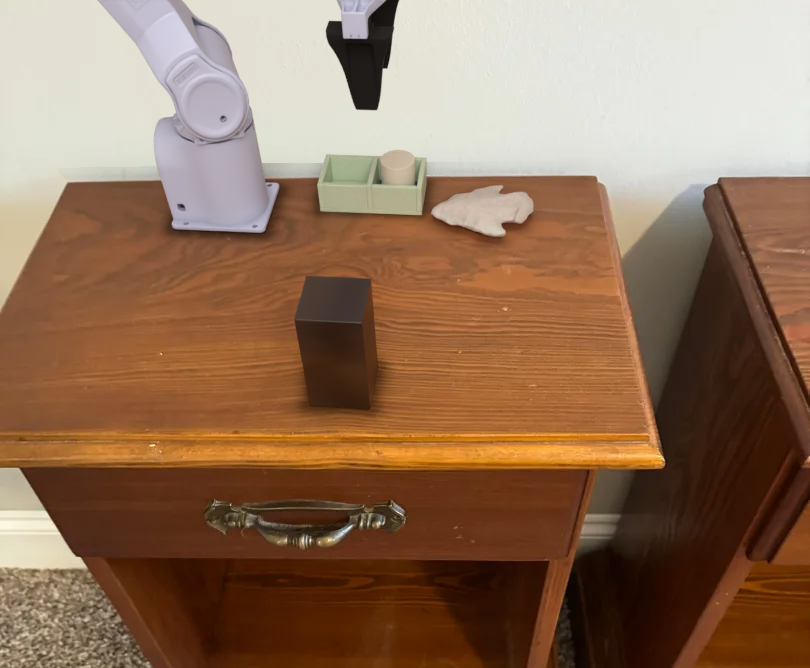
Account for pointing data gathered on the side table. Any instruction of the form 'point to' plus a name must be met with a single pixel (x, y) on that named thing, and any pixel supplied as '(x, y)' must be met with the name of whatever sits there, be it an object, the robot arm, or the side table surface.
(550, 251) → the side table surface
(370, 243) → the side table surface
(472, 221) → the arrowhead
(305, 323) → the stand
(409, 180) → the beige cylinder
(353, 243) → the side table surface
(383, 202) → the green divided box
